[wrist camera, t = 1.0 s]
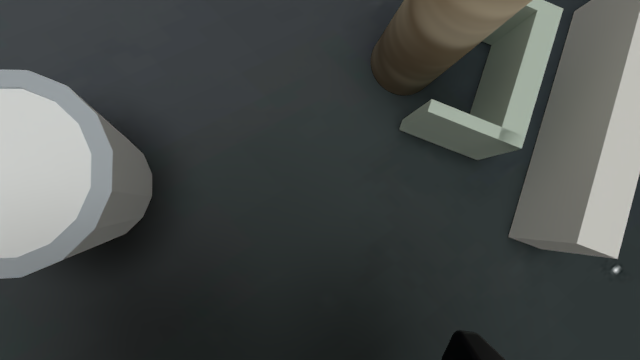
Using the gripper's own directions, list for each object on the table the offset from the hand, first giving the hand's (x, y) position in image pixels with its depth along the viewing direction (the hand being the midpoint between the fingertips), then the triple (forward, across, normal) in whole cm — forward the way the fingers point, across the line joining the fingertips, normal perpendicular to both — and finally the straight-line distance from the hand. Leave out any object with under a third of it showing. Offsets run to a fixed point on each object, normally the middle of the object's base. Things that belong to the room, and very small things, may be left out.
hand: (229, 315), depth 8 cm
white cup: (+12, +8, +5) cm, 16 cm away
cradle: (+17, -10, -3) cm, 19 cm away
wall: (+16, -16, -2) cm, 22 cm away
